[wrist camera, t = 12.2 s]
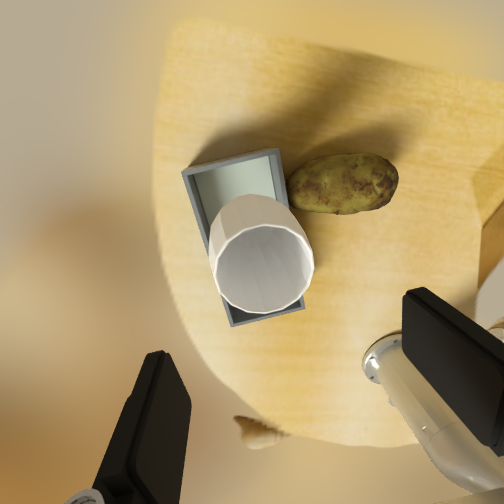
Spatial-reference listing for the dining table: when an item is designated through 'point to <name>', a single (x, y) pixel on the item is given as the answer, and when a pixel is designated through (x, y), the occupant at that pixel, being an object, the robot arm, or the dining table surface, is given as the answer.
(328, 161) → the potato
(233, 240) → the cup
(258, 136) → the dining table surface
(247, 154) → the divided open storage box
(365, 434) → the dining table surface
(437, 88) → the dining table surface
